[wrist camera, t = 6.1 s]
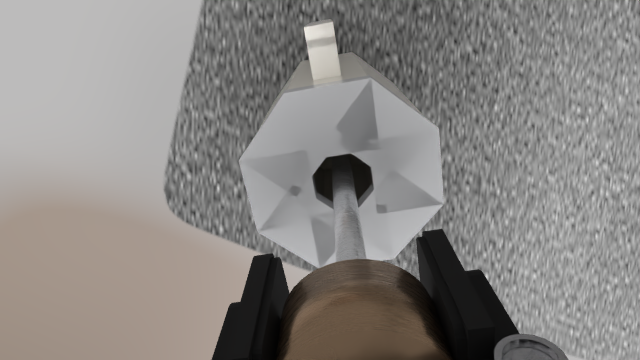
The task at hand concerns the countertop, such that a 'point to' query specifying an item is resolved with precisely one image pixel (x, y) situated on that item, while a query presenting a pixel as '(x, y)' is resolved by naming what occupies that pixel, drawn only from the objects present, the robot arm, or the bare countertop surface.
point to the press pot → (338, 139)
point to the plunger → (358, 300)
